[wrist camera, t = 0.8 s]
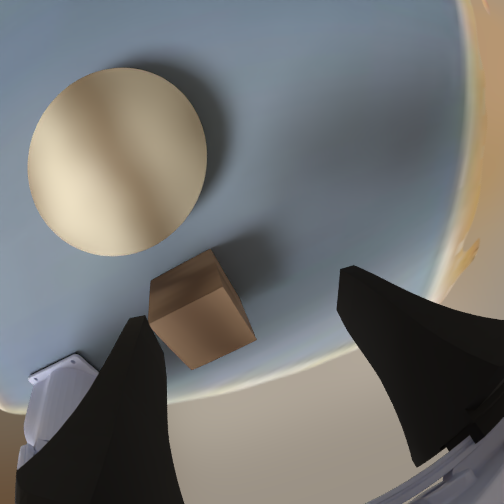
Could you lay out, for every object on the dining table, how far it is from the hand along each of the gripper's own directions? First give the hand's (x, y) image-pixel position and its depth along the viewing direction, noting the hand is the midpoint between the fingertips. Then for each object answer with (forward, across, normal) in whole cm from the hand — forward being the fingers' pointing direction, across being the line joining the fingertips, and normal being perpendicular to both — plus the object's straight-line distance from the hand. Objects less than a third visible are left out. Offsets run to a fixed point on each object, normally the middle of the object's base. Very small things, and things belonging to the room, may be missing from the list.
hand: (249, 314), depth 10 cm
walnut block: (+10, +2, +6) cm, 12 cm away
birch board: (+10, +6, -5) cm, 13 cm away
